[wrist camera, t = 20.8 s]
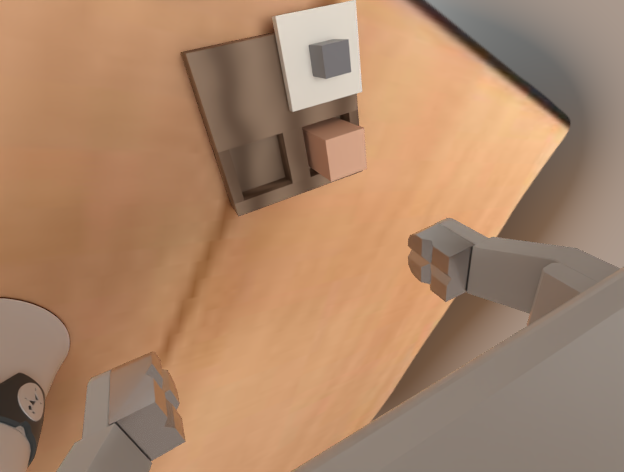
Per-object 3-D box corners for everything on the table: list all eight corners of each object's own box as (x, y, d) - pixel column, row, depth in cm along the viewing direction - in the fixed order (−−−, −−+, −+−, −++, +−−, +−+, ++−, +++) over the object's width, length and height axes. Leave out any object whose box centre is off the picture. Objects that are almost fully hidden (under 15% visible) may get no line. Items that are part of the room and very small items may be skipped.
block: (306, 164, 46) (331, 181, 40) (299, 127, 43) (325, 140, 38) (338, 153, 47) (367, 168, 42) (334, 116, 44) (364, 127, 39)
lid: (289, 110, 39) (304, 116, 36) (271, 16, 34) (287, 14, 30) (357, 90, 41) (377, 95, 38) (350, 0, 36) (372, -3, 33)
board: (231, 205, 45) (238, 216, 42) (180, 52, 35) (185, 53, 32) (349, 163, 50) (362, 170, 47) (334, 19, 40) (350, 18, 37)
